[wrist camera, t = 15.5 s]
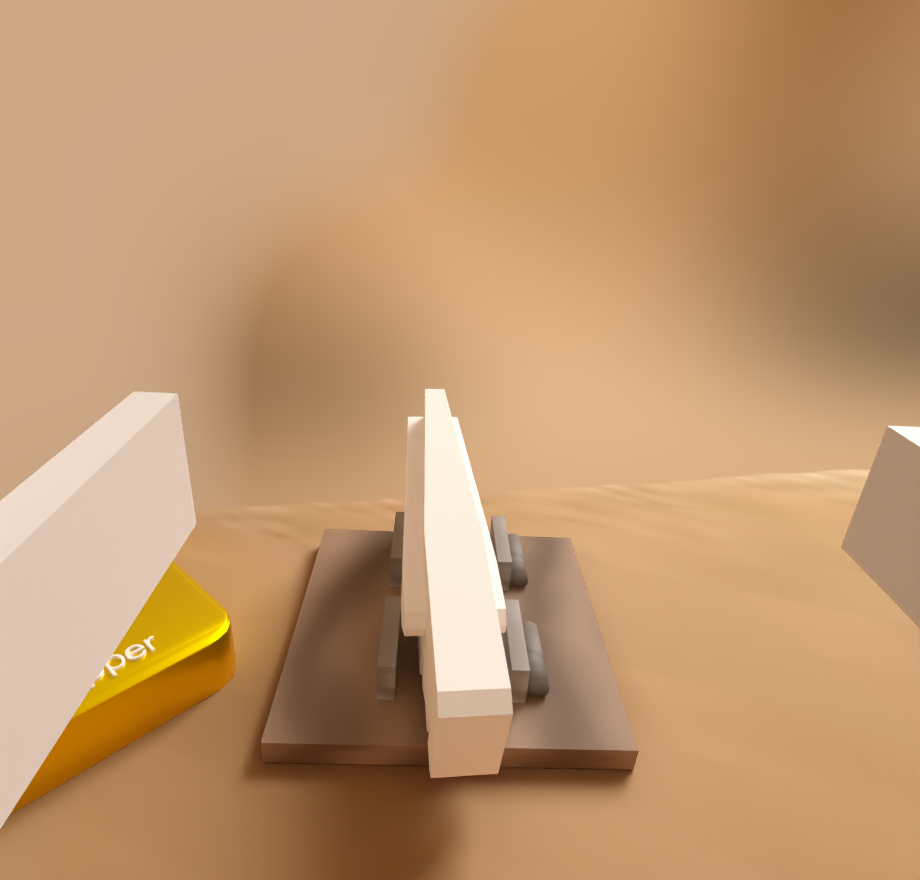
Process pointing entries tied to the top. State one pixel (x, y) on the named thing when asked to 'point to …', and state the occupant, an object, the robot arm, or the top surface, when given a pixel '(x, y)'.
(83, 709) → the element tile
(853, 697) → the top surface
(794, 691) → the top surface
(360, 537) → the hinge board
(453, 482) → the shelf bracket
